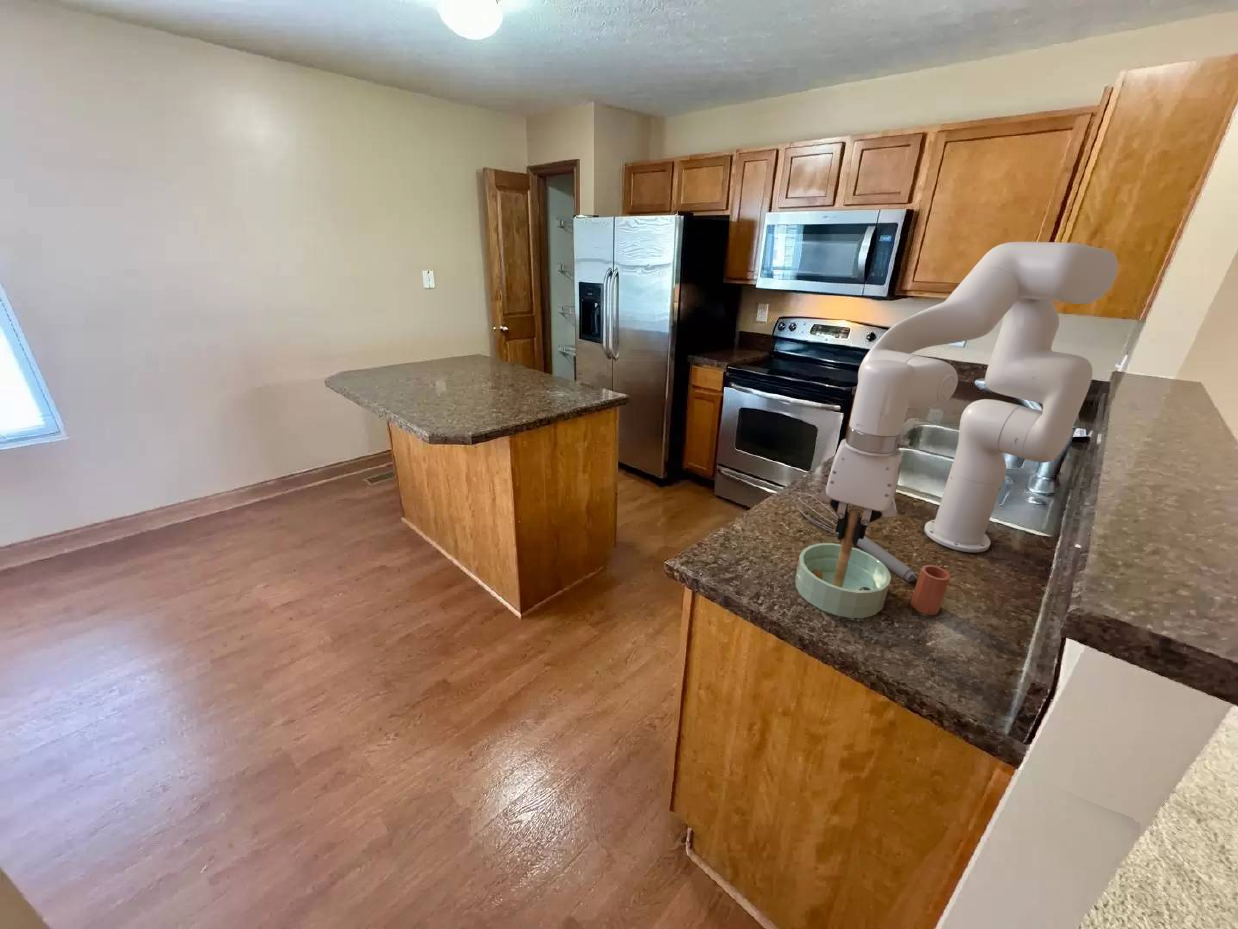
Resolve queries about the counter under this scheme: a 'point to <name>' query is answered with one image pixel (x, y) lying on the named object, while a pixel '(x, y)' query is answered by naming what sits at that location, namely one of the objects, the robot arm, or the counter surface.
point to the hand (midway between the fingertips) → (848, 537)
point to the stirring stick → (846, 547)
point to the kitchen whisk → (874, 550)
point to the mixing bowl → (859, 574)
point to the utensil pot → (930, 589)
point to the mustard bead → (817, 573)
